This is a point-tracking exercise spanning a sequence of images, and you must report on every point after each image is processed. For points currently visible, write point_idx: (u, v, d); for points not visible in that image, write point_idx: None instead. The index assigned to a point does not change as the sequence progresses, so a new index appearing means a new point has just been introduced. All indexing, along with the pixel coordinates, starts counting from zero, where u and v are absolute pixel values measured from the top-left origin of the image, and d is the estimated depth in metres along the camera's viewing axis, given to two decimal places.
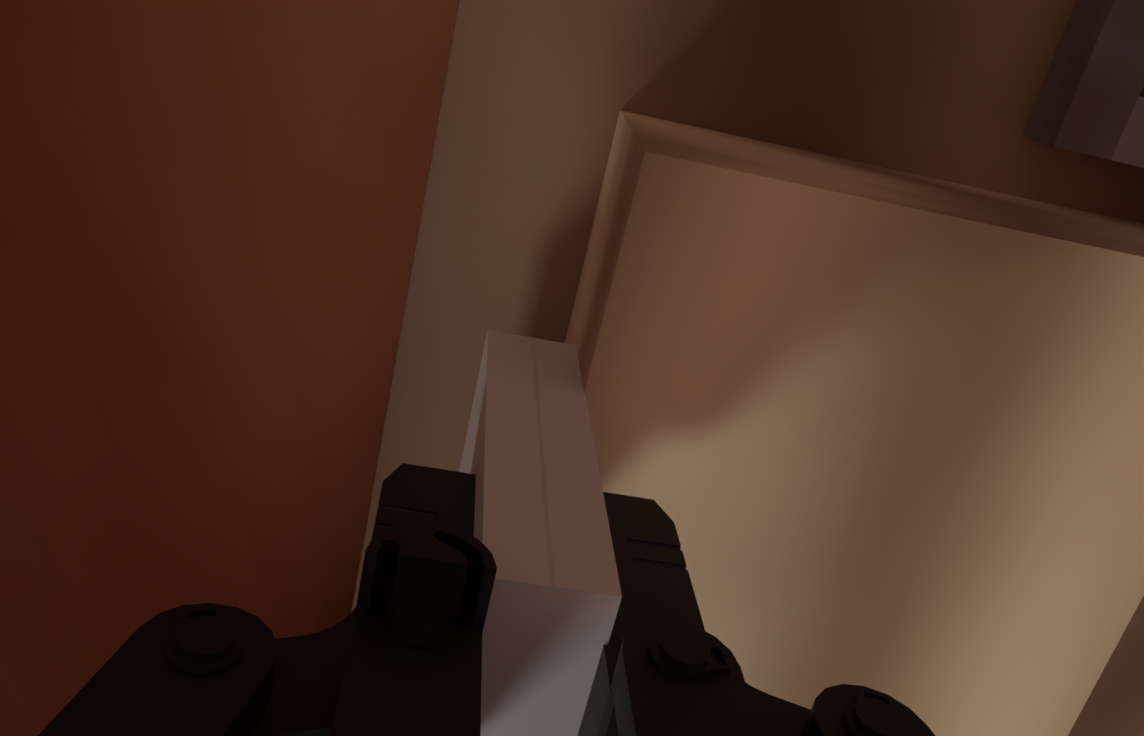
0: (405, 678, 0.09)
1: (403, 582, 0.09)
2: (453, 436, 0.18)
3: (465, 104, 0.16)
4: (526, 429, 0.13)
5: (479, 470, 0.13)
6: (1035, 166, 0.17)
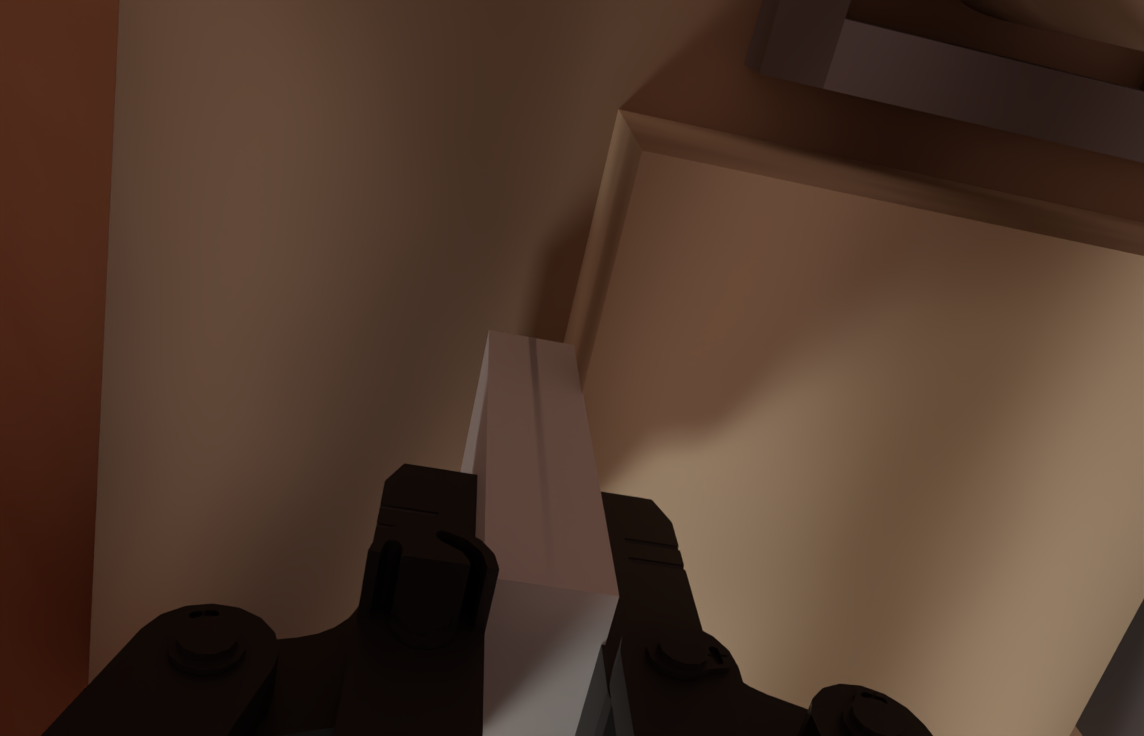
0: (407, 678, 0.09)
1: (405, 582, 0.09)
2: (177, 389, 0.17)
3: (143, 33, 0.15)
4: (528, 429, 0.13)
5: (481, 470, 0.13)
6: (762, 99, 0.16)
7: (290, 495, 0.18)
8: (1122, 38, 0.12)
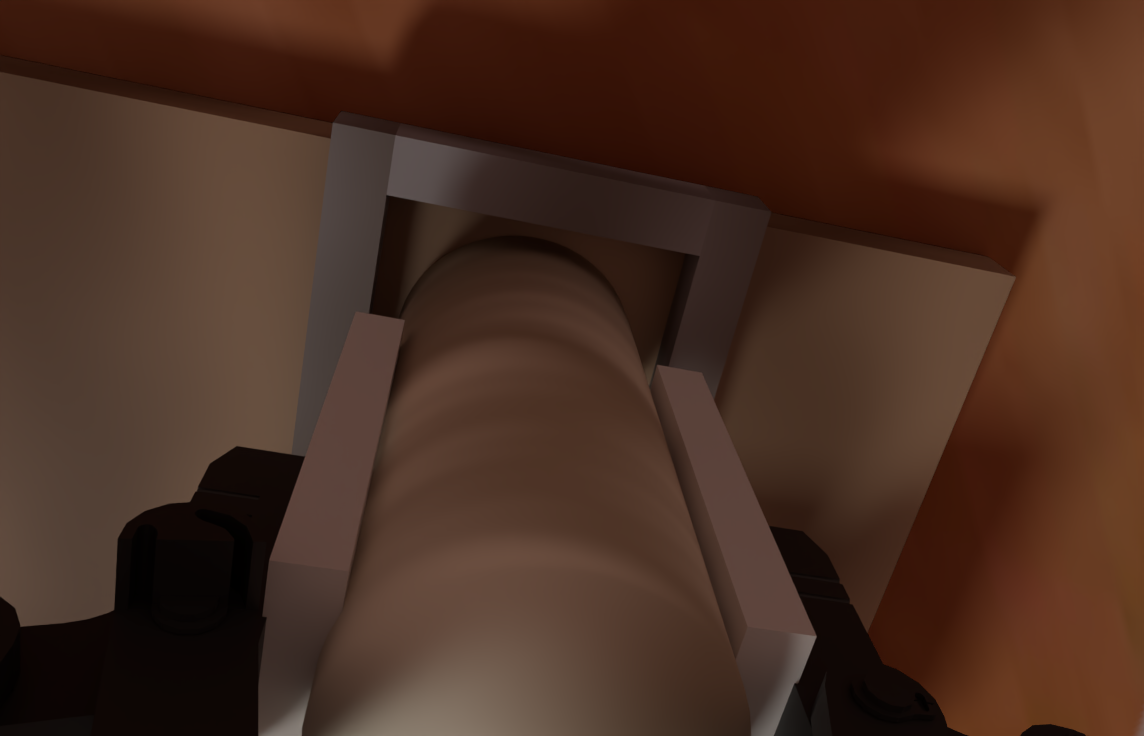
0: (173, 667, 0.08)
1: (164, 567, 0.09)
2: None
3: None
4: (367, 411, 0.13)
5: None
6: None
7: None
8: None
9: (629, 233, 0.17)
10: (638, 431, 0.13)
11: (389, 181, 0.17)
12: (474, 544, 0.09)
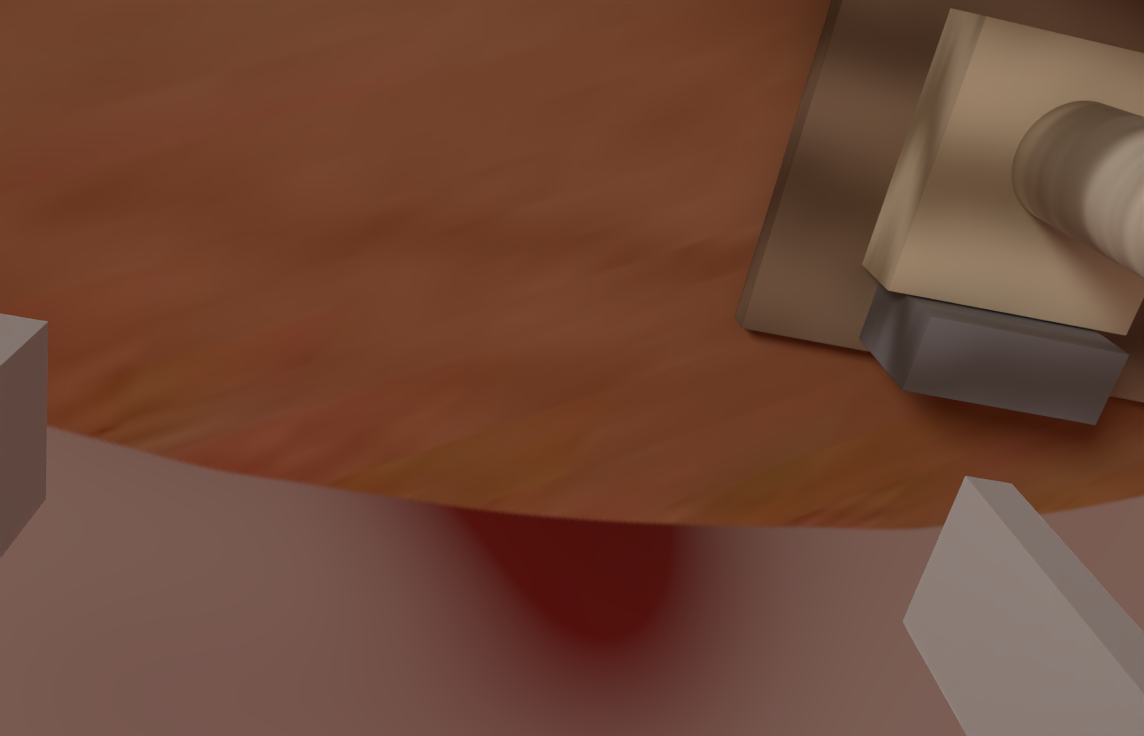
0: None
1: None
2: None
3: None
4: None
5: None
6: None
7: None
8: None
9: None
10: None
11: None
12: None
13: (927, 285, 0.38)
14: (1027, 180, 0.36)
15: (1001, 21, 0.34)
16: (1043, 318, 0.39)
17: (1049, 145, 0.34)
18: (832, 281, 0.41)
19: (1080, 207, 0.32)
